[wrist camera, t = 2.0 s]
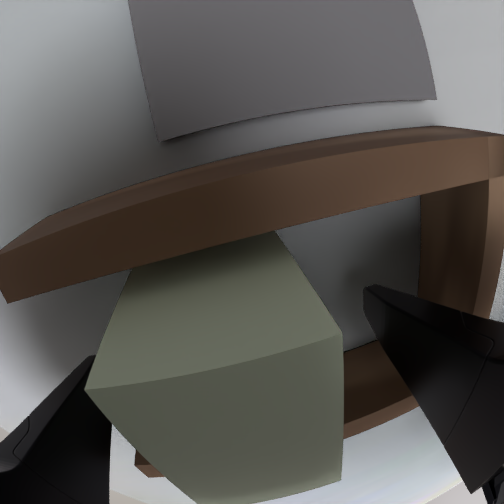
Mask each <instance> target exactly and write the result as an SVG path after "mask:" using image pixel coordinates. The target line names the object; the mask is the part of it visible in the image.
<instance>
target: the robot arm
mask: <svg viewBox="0 0 504 504" xmlns="http://www.w3.org/2000/svg"><path fill="white" fill-rule="evenodd" d="M363 308H364V313H365V315H366V317H367V319H368V321H369V323H370V325H371V327H372V329H373V331H374V333H375V334H376V336H377V338H378V340H379V342H380V344H381V346H382V348H383V350H384V351H385V353H386V354H387V356H388V358H389V359H390V361H391V362H392V364H393V365H394V367H395V368H396V370H397V371H398V373H399V374H400V376H401V377H402V379H403V380H404V382H405V384H406V385H407V387H408V388H409V390H410V391H411V393H412V395H413V396H414V398H415V399H416V401H417V403H418V404H419V406H420V407H421V409H422V411H423V412H424V414H425V415H426V417H427V419H428V420H429V422H430V424H431V425H432V427H433V429H434V430H435V432H436V434H437V435H438V437H439V439H440V440H441V442H442V444H443V445H444V448H445V449H446V451H447V453H448V455H449V456H450V458H451V460H452V462H453V463H454V465H455V467H456V469H457V470H458V472H459V474H460V476H461V478H462V479H463V481H464V483H465V485H466V487H467V489H468V490H469V492H470V493H471V494H472V493H473V492H475V491H476V490H478V489H479V488H480V487H482V489H483V492H484V495H485V498H486V500H487V504H504V323H503V322H499V321H495V320H490V319H486V318H483V317H479V316H476V315H472V314H469V313H466V312H463V311H462V312H461V311H460V310H457V309H453V308H450V307H447V306H444V305H441V304H438V303H434V302H431V301H428V300H425V299H422V298H419V297H415V296H412V295H409V294H406V293H403V292H400V291H396V290H393V289H390V288H387V287H384V286H380V285H377V284H373V285H370V286H367V287H365V288H364V290H363ZM95 357H96V355H91V356H88V357H87V358H86V359H85V360H84V361H83V362H82V363H81V364H80V365H79V366H78V367H77V368H76V369H75V370H74V371H73V372H72V373H71V374H70V375H69V376H68V377H67V378H66V379H65V380H64V381H63V382H62V383H61V384H59V385H58V386H57V387H56V388H55V389H54V390H53V391H52V392H51V393H50V394H49V395H48V396H47V397H46V398H45V399H44V400H43V401H42V402H41V403H40V404H39V405H38V406H37V407H36V408H35V409H34V410H33V411H32V413H31V414H30V415H29V416H28V417H27V418H26V419H25V420H24V421H23V422H22V423H21V424H20V425H19V426H18V427H17V428H16V429H15V430H14V431H12V432H11V433H10V434H9V435H8V436H7V437H6V438H5V439H4V440H3V441H2V442H0V504H109V472H110V447H111V431H112V423H111V422H110V421H109V420H108V418H107V417H106V416H105V415H104V414H103V413H102V411H101V410H100V409H99V408H98V407H97V405H96V404H95V403H94V402H93V400H92V399H91V398H90V397H89V395H88V394H87V393H86V391H85V390H84V389H85V386H86V383H87V380H88V377H89V374H90V371H91V369H92V366H93V363H94V360H95Z"/></svg>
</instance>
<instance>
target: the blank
mask: <svg viewBox="0 0 504 504" xmlns="http://www.w3.org/2000/svg"><path fill="white" fill-rule="evenodd" d="M84 390H85V391H86V393H87V394H88V395H89V397H90V398H91V399H92V400H93V402H94V403H95V404H96V405H97V407H98V408H99V409H100V410H101V411H102V413H103V414H104V415H105V416H106V417H107V418H108V420H109V421H110V422H111V423H112V424H113V425H114V426H115V428H116V429H117V430H118V431H119V432H120V433H121V434H122V435H123V436H124V437H125V438H126V439H127V441H128V442H129V443H130V444H131V445H132V446H133V447H134V448H135V449H136V450H137V451H138V452H139V453H140V454H141V455H142V456H143V457H144V458H145V459H146V460H147V461H148V462H149V463H150V464H152V465H153V466H154V467H155V468H156V469H157V470H158V471H159V472H160V473H161V474H162V475H164V476H165V477H166V478H167V479H168V480H169V481H170V482H172V483H173V484H174V485H175V486H176V487H177V488H179V489H180V490H181V491H182V492H183V493H185V494H186V495H187V496H188V497H190V498H191V499H192V500H193V501H195V502H196V503H197V504H252V503H258V502H263V501H268V500H273V499H277V498H281V497H286V496H290V495H294V494H298V493H301V492H305V491H308V490H312V489H315V488H319V487H322V486H325V485H328V484H331V483H334V482H337V481H340V480H341V472H342V454H343V427H344V364H343V335H342V332H341V330H340V328H339V327H338V325H337V324H336V322H335V321H334V319H333V318H332V316H331V315H330V313H329V311H328V310H327V308H326V307H325V305H324V304H323V302H322V301H321V299H320V298H319V296H318V295H317V293H316V292H315V290H314V289H313V287H312V286H311V284H310V283H309V281H308V280H307V278H306V276H305V275H304V273H303V272H302V270H301V269H300V267H299V266H298V265H297V263H296V262H295V260H294V259H293V257H292V256H291V254H290V253H289V251H288V250H287V248H286V247H285V245H284V244H283V242H282V241H281V239H280V238H279V236H278V235H277V234H276V232H275V231H270V232H267V233H263V234H259V235H255V236H251V237H247V238H243V239H239V240H236V241H232V242H228V243H224V244H220V245H216V246H213V247H209V248H205V249H201V250H197V251H194V252H190V253H186V254H182V255H179V256H175V257H171V258H167V259H164V260H160V261H156V262H153V263H149V264H145V265H142V266H138V267H134V268H132V270H131V273H130V275H129V277H128V279H127V281H126V284H125V286H124V288H123V290H122V293H121V295H120V297H119V300H118V302H117V304H116V307H115V309H114V311H113V314H112V316H111V319H110V321H109V324H108V326H107V329H106V331H105V334H104V336H103V339H102V341H101V344H100V347H99V349H98V352H97V355H96V357H95V360H94V363H93V366H92V369H91V371H90V374H89V377H88V380H87V383H86V386H85V389H84Z"/></svg>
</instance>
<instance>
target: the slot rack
mask: <svg viewBox="0 0 504 504" xmlns="http://www.w3.org/2000/svg"><path fill="white" fill-rule="evenodd" d="M417 195H421V251H420V271H419V285H418V297H419V298H422V299H425V300H428V301H431V302H434V303H438V304H441V305H444V306H447V307H450V308H453V309H457V310H460V311H461V312H462V311H463V312H466V313H469V314H472V315H476V316H479V317H483V318H486V319H489V316H490V312H491V308H492V304H493V300H494V296H495V292H496V287H497V283H498V278H499V273H500V267H501V262H502V256H503V249H504V135H502V134H497V133H491V132H485V131H478V130H471V129H463V128H455V127H446V126H425V127H413V128H402V129H392V130H383V131H374V132H366V133H359V134H352V135H345V136H338V137H331V138H325V139H319V140H313V141H308V142H302V143H297V144H291V145H286V146H281V147H276V148H271V149H267V150H262V151H257V152H253V153H248V154H244V155H240V156H235V157H231V158H227V159H223V160H219V161H215V162H211V163H207V164H204V165H200V166H196V167H192V168H189V169H185V170H182V171H178V172H175V173H171V174H168V175H164V176H161V177H158V178H154V179H151V180H148V181H145V182H142V183H139V184H135V185H132V186H129V187H126V188H123V189H120V190H117V191H114V192H112V193H109V194H106V195H103V196H100V197H97V198H95V199H92V200H89V201H87V202H84V203H81V204H79V205H76V206H73V207H71V208H68V209H66V210H63V211H61V212H58V213H56V214H53V215H51V216H48V217H46V218H44V219H43V220H41V221H40V222H38V223H37V224H35V225H34V226H33V227H31V228H30V229H28V230H27V231H25V232H24V233H23V234H21V235H20V236H18V237H17V238H16V239H14V240H13V241H12V242H10V243H9V244H8V245H6V246H5V247H4V248H2V249H1V250H0V290H1V292H2V294H3V296H4V298H5V300H6V302H7V304H8V303H11V302H15V301H18V300H21V299H25V298H28V297H32V296H35V295H39V294H42V293H45V292H49V291H52V290H56V289H59V288H63V287H66V286H70V285H73V284H77V283H80V282H84V281H88V280H91V279H95V278H98V277H102V276H105V275H109V274H113V273H116V272H120V271H123V270H127V269H131V268H134V267H138V266H142V265H145V264H149V263H153V262H156V261H160V260H164V259H167V258H171V257H175V256H179V255H182V254H186V253H190V252H194V251H197V250H201V249H205V248H209V247H213V246H216V245H220V244H224V243H228V242H232V241H236V240H239V239H243V238H247V237H251V236H255V235H259V234H263V233H267V232H270V231H274V230H278V229H282V228H286V227H290V226H294V225H298V224H302V223H306V222H310V221H314V220H318V219H322V218H326V217H330V216H334V215H338V214H342V213H346V212H351V211H355V210H359V209H363V208H367V207H371V206H375V205H379V204H384V203H388V202H392V201H396V200H400V199H405V198H409V197H413V196H417ZM343 364H344V427H343V439H345V438H348V437H351V436H353V435H356V434H359V433H361V432H364V431H366V430H369V429H371V428H373V427H376V426H378V425H380V424H383V423H385V422H387V421H389V420H392V419H394V418H396V417H398V416H400V415H402V414H404V413H406V412H409V411H411V410H413V409H415V408H416V407H418V406H419V404H418V403H417V401H416V399H415V398H414V396H413V395H412V393H411V391H410V390H409V388H408V387H407V385H406V384H405V382H404V380H403V379H402V377H401V376H400V374H399V373H398V371H397V370H396V368H395V367H394V365H393V364H392V362H391V361H390V359H389V358H388V356H387V354H386V353H385V351H384V350H383V348H382V346H381V344H380V342H379V340H377V341H374V342H372V343H369V344H366V345H364V346H361V347H358V348H356V349H353V350H350V351H347V352H345V353H343ZM134 465H135V466H136V467H137V468H138V469H139V470H140V471H141V472H143V473H144V474H145V475H146V476H147V477H148V478H149V477H165V476H164V475H162V474H161V473H160V472H159V471H158V470H157V469H156V468H155V467H154V466H153V465H152V464H150V463H149V462H148V461H147V460H146V459H145V458H144V457H143V456H142V455H141V454H140V453H139V452H138V451H137V450H136V453H135V464H134Z"/></svg>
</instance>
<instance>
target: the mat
mask: <svg viewBox="0 0 504 504" xmlns="http://www.w3.org/2000/svg"><path fill="white" fill-rule="evenodd" d="M128 2H129V8H130V14H131V20H132V25H133V31H134V36H135V41H136V46H137V51H138V56H139V61H140V66H141V71H142V75H143V80H144V84H145V89H146V93H147V97H148V102H149V106H150V110H151V114H152V118H153V122H154V126H155V130H156V134H157V138H158V142H162V141H165V140H169V139H172V138H175V137H179V136H182V135H186V134H190V133H193V132H197V131H201V130H205V129H209V128H213V127H217V126H221V125H225V124H230V123H234V122H239V121H243V120H248V119H253V118H258V117H263V116H269V115H274V114H280V113H286V112H292V111H298V110H305V109H312V108H319V107H327V106H336V105H345V104H356V103H368V102H382V101H403V100H437V97H436V91H435V85H434V80H433V75H432V70H431V65H430V61H429V56H428V52H427V48H426V44H425V40H424V36H423V33H422V29H421V26H420V22H419V19H418V16H417V13H416V10H415V7H414V4H413V1H412V0H128Z"/></svg>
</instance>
